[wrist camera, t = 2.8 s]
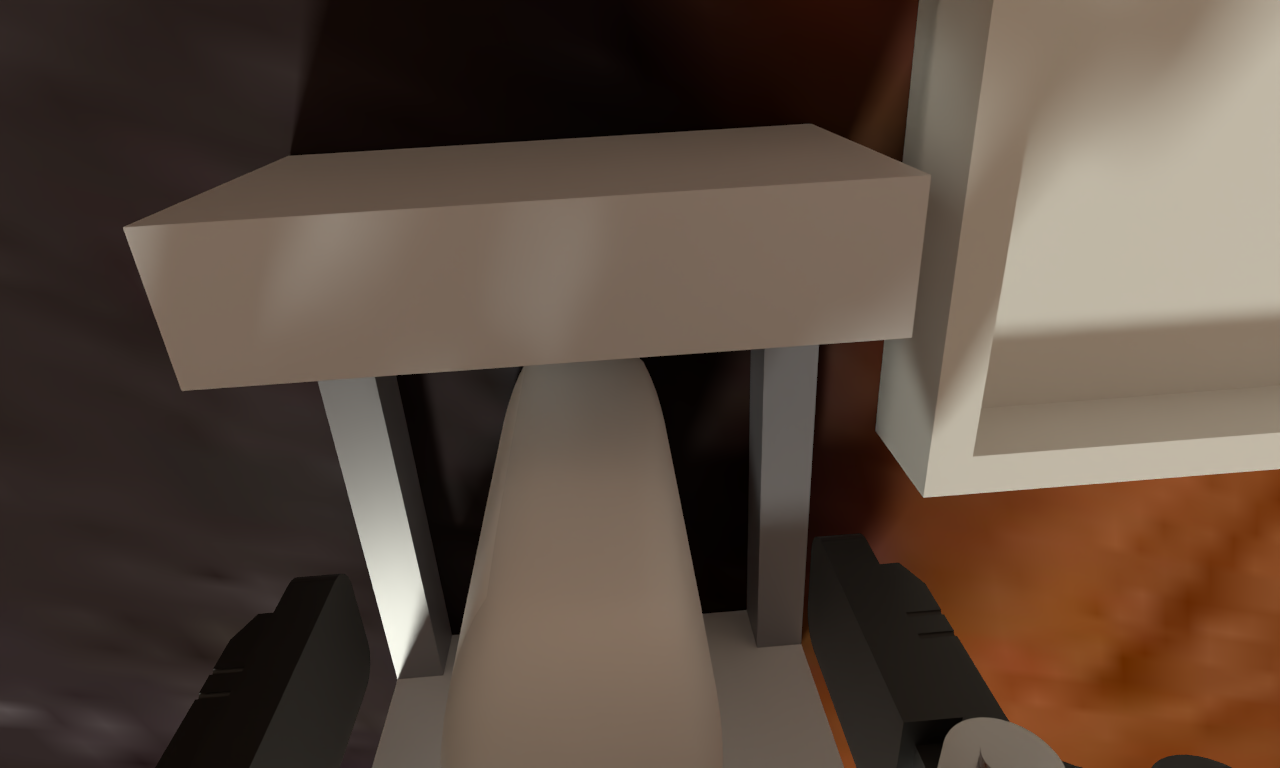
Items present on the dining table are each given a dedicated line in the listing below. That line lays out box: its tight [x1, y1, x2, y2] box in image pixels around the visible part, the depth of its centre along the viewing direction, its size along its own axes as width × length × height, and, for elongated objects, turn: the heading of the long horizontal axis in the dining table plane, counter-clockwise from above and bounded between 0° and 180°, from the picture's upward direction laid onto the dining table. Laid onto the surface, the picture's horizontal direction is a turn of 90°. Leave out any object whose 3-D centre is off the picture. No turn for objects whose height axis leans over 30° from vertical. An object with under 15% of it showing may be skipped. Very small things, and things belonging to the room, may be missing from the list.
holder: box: [123, 124, 931, 768], centre depth 13 cm, size 13×9×5 cm
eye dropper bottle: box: [440, 358, 723, 768], centre depth 10 cm, size 4×6×12 cm
